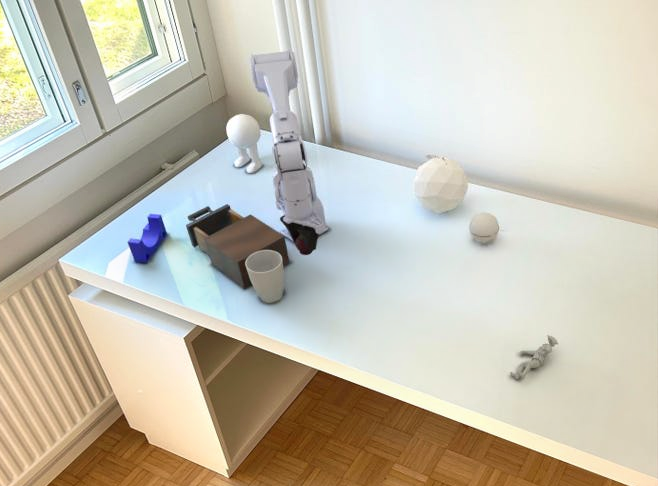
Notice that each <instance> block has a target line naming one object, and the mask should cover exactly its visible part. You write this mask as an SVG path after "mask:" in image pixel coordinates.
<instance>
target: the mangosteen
mask: <svg viewBox="0 0 658 486" xmlns="http://www.w3.org/2000/svg"><path fill="white" fill-rule="evenodd" d="M295 248H296V249H297V250H298V251H299V254H300V255H302V256H309V255H311V254H312V253H313V252H314V251H312V252H310V253H309V252H307V250H306V247H305V243H304V240H303V238H302V236H301V235H299V236H298V237H297V239H296V244H295Z"/></svg>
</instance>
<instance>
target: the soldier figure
mask: <svg viewBox="0 0 658 486" xmlns="http://www.w3.org/2000/svg"><path fill="white" fill-rule="evenodd" d="M546 336H547V342H548V343H542V345H540V346H539V347H538V348H537V349H536V350H535V351H530V350H521V351H519V354H521V355H522V356H523V355H529V356H532V357H531V360H526V361H522V362H521V363H519V365H518V368H517V371H516V372H515V373H514V372H512V371H510V372H509V374H510V375H511V376H512V377H513V378H514V379H516V380H519V379H520V378H521V379H522V380H524V379H525V378H526V375H528V373H529V372H530V371H531V369H535V368H539V367H541V366H542V365H543V363H544V360H545V358H546V357H547V356H549V354H551V353H552V351H553V347H555V345H559V342H558V340H557V339H556V338H555V337H553V336H552V335H549V334H547V335H546Z"/></svg>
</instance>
